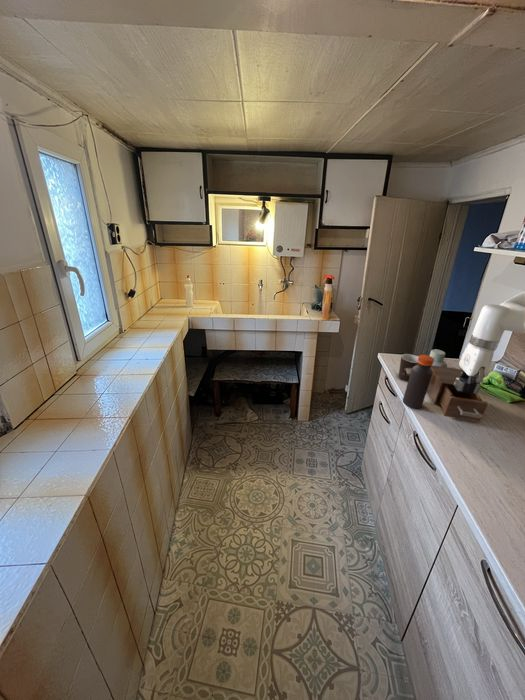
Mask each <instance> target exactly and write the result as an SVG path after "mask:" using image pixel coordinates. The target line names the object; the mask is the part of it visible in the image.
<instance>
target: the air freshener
mask: <svg viewBox="0 0 525 700" xmlns="http://www.w3.org/2000/svg"><path fill="white" fill-rule="evenodd" d="M429 356H430V357H432V358H434V362H433V365H432V366H439V367H446V368H448V364H447V362H446V361H445V357H446V352H445V351H443V350H442V349H441V350H440V349H437V348H435V349H431V350H430V354H429Z"/></svg>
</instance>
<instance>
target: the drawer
mask: <svg viewBox="0 0 525 700" xmlns="http://www.w3.org/2000/svg"><path fill="white" fill-rule="evenodd" d="M438 401H439V403H440V404H441V405H440V406H441V408H442V410H443V413H442V415H443V416H444V417H448V418H455V419H460V420H465V421H467V420H468V421H473V422H479V423H480V422H481V420H482V418H483V416H484V413H485V412H486V409H487V407H488V405H489V403H488V401H484V400H483V399H482V398H481V396H480V395H479V393H473V394H470V393H464V392H463V391H457V389H456V388H455V386H449V385H443V387H442V390H441V393H440V396H439V398H438Z"/></svg>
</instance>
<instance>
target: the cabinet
mask: <svg viewBox="0 0 525 700" xmlns="http://www.w3.org/2000/svg"><path fill="white" fill-rule="evenodd" d="M430 368H431V370H432V371H433V374H432V377H431V380H430V383H429V386H428V389H427V392H428V395H429V397H430V399H431V400H432V402H433V404H434V405H440V406H441V404H440V403H439V401H438V398H439V396H440V393H441V390H442V387H443V385H449V386H454V382H455V380H456V377H460V376H461V372H462V368H461V369H460V368H454V367H447V368H446V367H439V366H431V367H430ZM479 390H480V387H479V388H478V391H477V394H479Z"/></svg>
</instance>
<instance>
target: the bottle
mask: <svg viewBox="0 0 525 700" xmlns="http://www.w3.org/2000/svg"><path fill="white" fill-rule="evenodd" d="M433 362H434V358H432V357H430V355H427V354H419V355H418V361H417V363H418V364H417V365H415V366H413V368H412V371H411V374H410V377H409V381H408V382H407V384H406V388H405V391H404V394H403V398H402V403H403V405H405V406H406V407H408V408H411V409H420V408H422V406H423V404H424V401H425V397H426V394H427V392H428V391H427V389H428V386H429V383H430V380H431V377H432V374H433V371H432V370H431V368H430V367H431V366H432V365H433Z"/></svg>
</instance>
